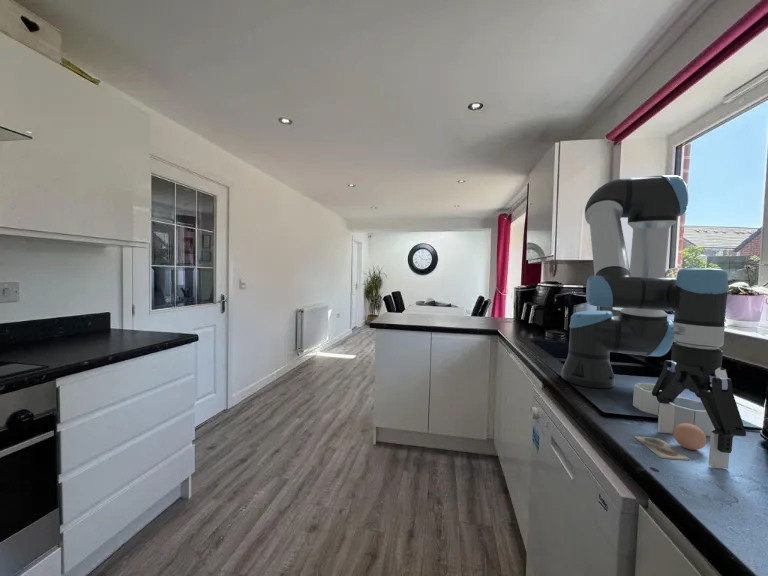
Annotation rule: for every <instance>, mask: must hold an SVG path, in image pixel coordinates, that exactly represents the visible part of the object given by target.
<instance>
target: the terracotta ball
mask: <svg viewBox="0 0 768 576" xmlns="http://www.w3.org/2000/svg"><path fill="white" fill-rule="evenodd" d="M673 438H674V439H675V441H676V442H677V443H678V445H680V446H681V447H682V448H685V449H688V450H691V451H698V450H700V449H702V448H704V447H705V445H706V443H707V436H705V434H704V432H703V431H702V430H701V429H700V428H698V427H697V426H695V425H693V424H689V423H682V424H679V425H677V426H676V427H675V429H673Z"/></svg>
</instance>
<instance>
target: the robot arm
mask: <svg viewBox="0 0 768 576" xmlns="http://www.w3.org/2000/svg"><path fill="white" fill-rule="evenodd" d="M688 205H689V192H688V187H687V183H686V182H685V180H684V179H683V177H681V176H680V175H654V176H653V175H652V176H641V177H640V176H639V177H630V178H617V179H613V180H611V181H609V182H606V183H604V184H602V186H600V187H598V188H597V189H596V190H595V191H594V192H593V193H592V194H591V195H590V197H589V198H588V200H587V202H586V204H585V207H584V219H585V221H586V222H587V224H589V230H590V241H591V251H592V252H591V253H592V262H593V272H594V273H593V274H594V275H591V276H589V277H588V279H586V280H587V281H586V288H585V289H586V290H585V292H586V293H585V299H586V302H587V304H588V305H590V306H592V307H593V306H594V307H599V308H605V309H606V308H617V309H618V308H620V311H619V312H620V313H619V315H614V313H613V312H612V311H611V310H584V311H577V312H574V313H572V314H571V316H570V321H569V322H570V323H569V325H568V326H569V342H568V354H567V357H566V359H565V362H564V364H563V366H562V368H561V373H560V376H561V378H562V379H563V380H564V381H566V382H568V383H571V384H573V385H576V386H577V385H578V386H582V387H586V388H594V389H609V388H610V389H611V388H614V387H615V382H616V381H615V380H616V379H615V374H614V372H613V368H612V364H611V362H610V357H611V355H610V353H617V354H618V353H620V354H629V355H637V356H643V357H662V356H665V355H667V353H668V352H669V351H670V350H671V351H670V352H671V353H670V354H671V355H670V359H671V360H664V362H663V368H662V371H661V373H660V374H659V376H658V379H657V381H656V383H654V384H655V386H654V388H653V390H652V395H653V396H656V397H657V401H658V402H659V408H658V414H659V416H658V420H657V432H658V433H662V434H673V432H674V429H673V427H674V412H675V405H674V404H670V402H671V403H675V402H673V401H674V399H675V398H676V397H678V396H679V395H680V396H681V394H682V393H683V392H684V391H685V390H688V391H690V392H692V393H694V394H695V396H696V397H697V398H699V399H700V401H701V402H702V403H703V405H704V407H705V410H706V412H707V414H708V416H709V418H710V420H711V422H712V424H713V426H714V428H715V430H713V431H711V436H710V438H709V439H710V441H709V442H710V443H709V450H708V451H709V455H708V466H709V467H711V468H716V469H717V468H718V469H729V466H730V465H729V463H730V460H729V459H730V454H731V453H732V452H733V438H734V436H735V437H746V436H747V431H746V429H745V425H744V423H743V420H742V417H741V414H740V410H739V408H738V407H739V406H738V405H737V402H736V398H735V396H734V392H733V381H732V379H731V378H718V377H716V374H715V370H716V369H718V368H720V367H721V368H722V366H723V365H722V363H723V352H724V351H723V350H722V349H721V347H723V346H725V345H724V344H725V343H724V342H725V341H724V340H725V327H726V326H725V322H726V312H727V311H726V310H727V299H728V291H729V289H730V287H729V283H728V282H729V281H728V279H729V278H728V277H729V275H728V272H727V271H726V270H725V269H723V268H722V269H721V268H681V269H679V270H677V274H676V277H665V275H666V266H667V265H666V264H667V256H668V244H669V237H670V235H669V233H670V228H671V227H672V226H674V225H675V224H676V223H677V222H678V217H681V216H683V215H684V214H685V213H686V212H687V206H688ZM623 218H624V219H626V218H627V225H628V226H629V227H631V229H632V239H631V250H630V251H631V252H630V264H629V259H628V253H627V252H628V251H627V248H626V242H625V236H624V232H623V231H624V230H623V225H622V221H621V219H623ZM666 311H667V312H669V311H670V312H674V313H673V314H674V315H673V321H672V320H671V319H669V318H668V313H667V312H666ZM660 390H662V391H660ZM709 391H710V392H709ZM673 435H674V434H673Z"/></svg>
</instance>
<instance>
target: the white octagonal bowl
mask: <svg viewBox="0 0 768 576" xmlns="http://www.w3.org/2000/svg"><path fill="white" fill-rule="evenodd" d="M655 384H656V383H649V382H648V383H647V382H637V383H636V384H634V385H633V398H632V406H634V408H636V409H638V410H639V411H641V412H644V413H647V414H650V415H655V416H658V417H659V414H658V408H659V402H658V401H657V397H656V396H653V395H652V391H651V390H653V388H654V386H655ZM678 397H681V394H680V395H679V396H678Z"/></svg>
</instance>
